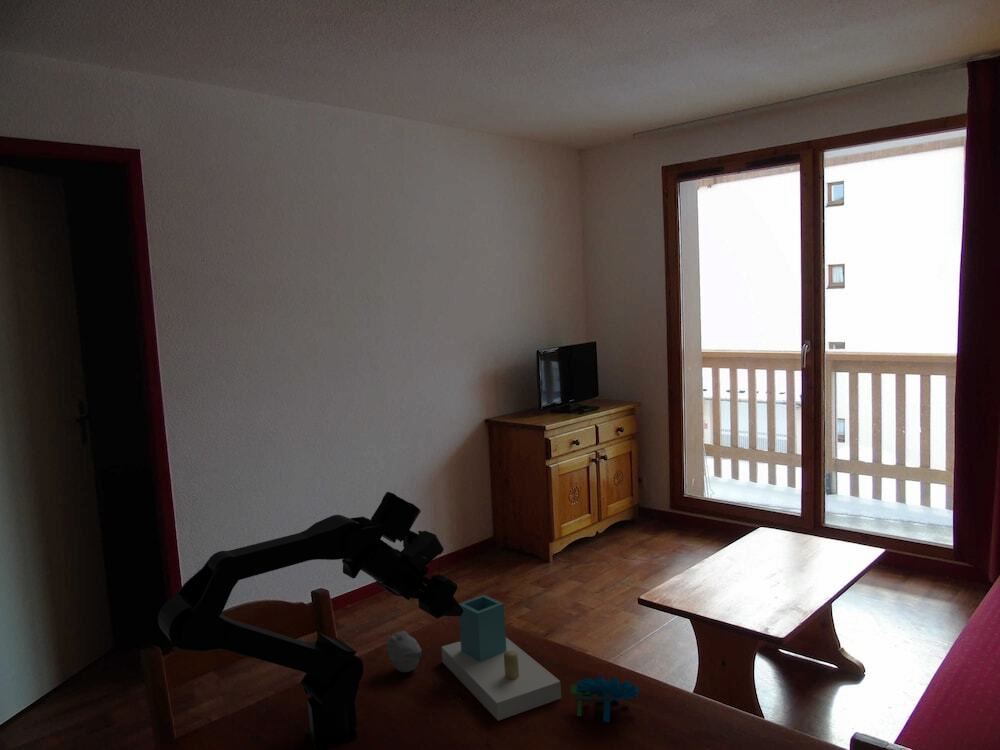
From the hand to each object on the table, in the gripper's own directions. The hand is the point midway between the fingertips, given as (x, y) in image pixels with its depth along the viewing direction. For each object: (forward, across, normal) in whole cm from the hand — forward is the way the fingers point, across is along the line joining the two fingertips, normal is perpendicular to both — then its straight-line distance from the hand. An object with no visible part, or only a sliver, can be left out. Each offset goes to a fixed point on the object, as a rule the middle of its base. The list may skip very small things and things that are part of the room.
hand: (447, 605), depth 126 cm
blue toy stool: (+19, -25, +2) cm, 32 cm away
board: (+14, -5, +6) cm, 16 cm away
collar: (+13, 0, +3) cm, 13 cm away
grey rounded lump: (+7, +10, +13) cm, 18 cm away
